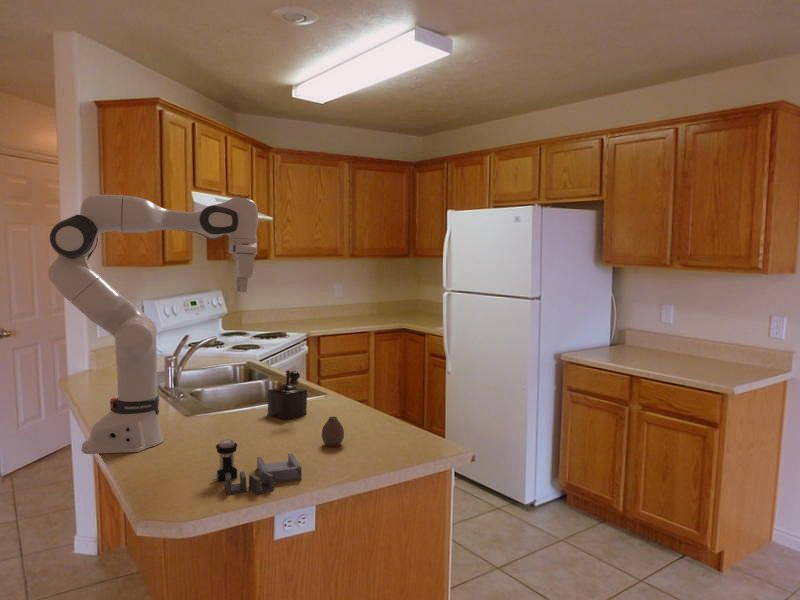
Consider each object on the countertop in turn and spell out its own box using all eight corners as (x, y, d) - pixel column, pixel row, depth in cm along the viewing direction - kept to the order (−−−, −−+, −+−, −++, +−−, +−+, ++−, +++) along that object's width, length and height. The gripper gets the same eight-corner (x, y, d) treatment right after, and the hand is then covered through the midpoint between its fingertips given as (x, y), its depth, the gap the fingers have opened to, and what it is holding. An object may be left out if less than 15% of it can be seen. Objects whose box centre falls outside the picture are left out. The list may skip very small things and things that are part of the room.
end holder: (263, 484, 148) (263, 472, 148) (257, 468, 159) (257, 457, 159) (301, 479, 152) (301, 467, 152) (292, 464, 162) (292, 453, 162)
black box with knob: (265, 415, 210) (265, 366, 209) (289, 409, 219) (289, 362, 217) (293, 423, 200) (293, 372, 199) (316, 417, 209) (317, 368, 207)
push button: (215, 485, 147) (215, 447, 146) (208, 478, 151) (207, 441, 150) (240, 479, 151) (240, 442, 150) (232, 473, 155) (232, 437, 154)
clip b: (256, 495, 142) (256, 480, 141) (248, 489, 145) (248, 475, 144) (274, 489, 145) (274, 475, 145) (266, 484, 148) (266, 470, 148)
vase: (326, 449, 175) (326, 421, 174) (318, 443, 181) (318, 415, 180) (347, 446, 178) (347, 419, 177) (339, 440, 184) (339, 413, 183)
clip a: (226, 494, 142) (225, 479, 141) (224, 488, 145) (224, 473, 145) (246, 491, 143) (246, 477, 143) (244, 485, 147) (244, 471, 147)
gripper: (229, 249, 192) (228, 290, 193) (236, 246, 173) (234, 292, 174) (248, 250, 195) (247, 291, 195) (257, 247, 176) (256, 293, 176)
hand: (241, 291), depth 184 cm, fingers open, 8 cm apart
